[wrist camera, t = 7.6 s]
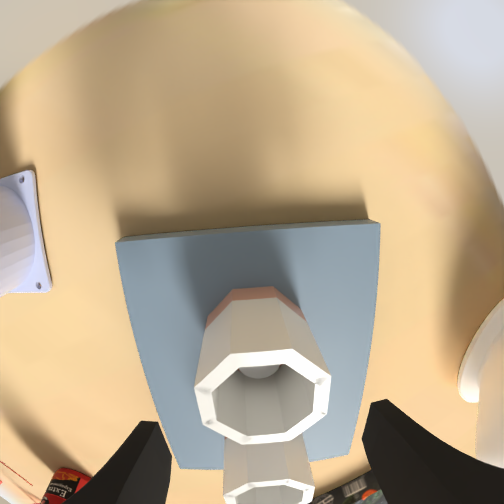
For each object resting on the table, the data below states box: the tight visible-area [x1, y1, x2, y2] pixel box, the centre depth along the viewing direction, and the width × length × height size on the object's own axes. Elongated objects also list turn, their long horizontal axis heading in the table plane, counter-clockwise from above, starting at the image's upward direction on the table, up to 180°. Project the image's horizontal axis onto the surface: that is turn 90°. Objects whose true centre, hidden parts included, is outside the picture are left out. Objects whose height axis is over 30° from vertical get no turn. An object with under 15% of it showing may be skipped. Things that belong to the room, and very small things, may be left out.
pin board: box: [115, 219, 380, 470], centre depth 16 cm, size 14×19×4 cm
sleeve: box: [194, 286, 331, 445], centre depth 13 cm, size 5×5×6 cm
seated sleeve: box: [223, 433, 315, 504], centre depth 15 cm, size 5×5×6 cm
